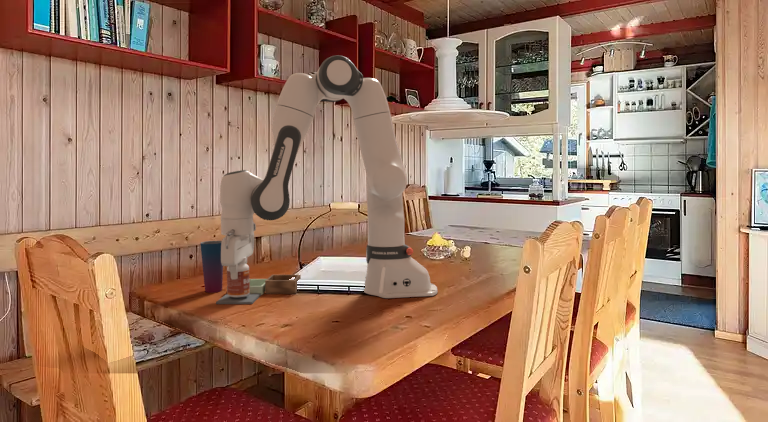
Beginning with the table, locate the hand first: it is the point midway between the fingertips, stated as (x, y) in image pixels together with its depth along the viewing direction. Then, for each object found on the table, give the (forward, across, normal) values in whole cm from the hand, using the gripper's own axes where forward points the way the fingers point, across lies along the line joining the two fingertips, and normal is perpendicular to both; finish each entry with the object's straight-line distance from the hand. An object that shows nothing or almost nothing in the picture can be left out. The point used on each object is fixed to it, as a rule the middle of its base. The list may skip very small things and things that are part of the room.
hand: (238, 276), depth 152 cm
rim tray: (+7, +11, 0) cm, 13 cm away
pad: (+7, 0, 0) cm, 7 cm away
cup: (+7, +11, +11) cm, 17 cm away
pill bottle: (+6, 0, 0) cm, 6 cm away
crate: (+7, +11, -10) cm, 17 cm away
